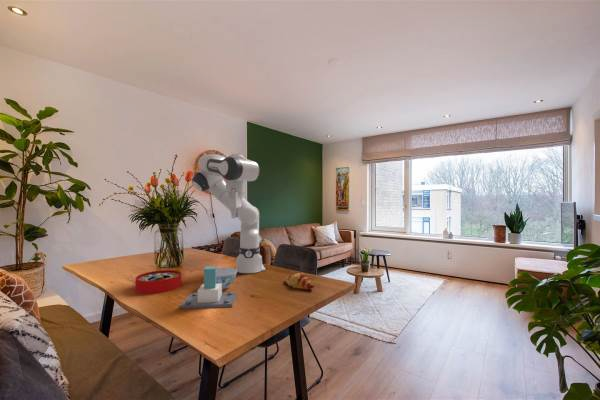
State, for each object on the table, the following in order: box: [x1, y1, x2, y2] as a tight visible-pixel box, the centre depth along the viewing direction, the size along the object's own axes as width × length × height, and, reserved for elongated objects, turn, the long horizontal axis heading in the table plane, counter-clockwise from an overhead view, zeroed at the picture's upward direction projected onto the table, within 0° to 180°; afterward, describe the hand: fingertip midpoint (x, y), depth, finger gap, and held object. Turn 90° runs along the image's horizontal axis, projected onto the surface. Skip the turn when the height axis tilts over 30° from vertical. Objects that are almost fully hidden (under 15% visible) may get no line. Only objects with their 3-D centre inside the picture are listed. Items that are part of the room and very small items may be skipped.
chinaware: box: [216, 267, 238, 290], centre depth 131 cm, size 15×15×8 cm
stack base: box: [179, 283, 238, 310], centre depth 112 cm, size 13×20×6 cm, turn 96°
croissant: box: [284, 272, 315, 291], centre depth 134 cm, size 21×10×8 cm, turn 41°
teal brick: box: [203, 265, 217, 289], centre depth 112 cm, size 4×4×8 cm
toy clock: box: [134, 269, 182, 295], centre depth 131 cm, size 20×6×20 cm
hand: (235, 217), depth 128 cm, fingers open, 8 cm apart
